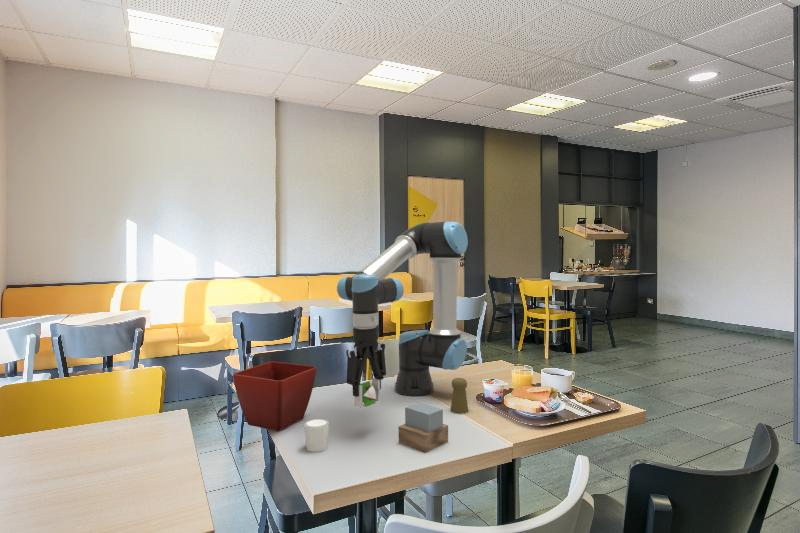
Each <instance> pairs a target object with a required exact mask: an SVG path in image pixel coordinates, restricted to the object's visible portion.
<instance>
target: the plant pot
mask: <svg viewBox="0 0 800 533" xmlns="http://www.w3.org/2000/svg"><path fill="white" fill-rule="evenodd" d="M316 374H317V366H313V365H305V364H296V363H289V362H281V361H268V362H265V363H262V364H258V365H256V366H251V367H248V368H245V369H243V370H240V371H235V372H234V373H232V378H233V384H234V387H235V388H234V389H235V393H236V397H237V400H238V403H239V406H240V408H241V412H242V414H243V416H244V420H245V421H246V423H247V425H248V426H251V427H257V428H260V429H261V428H262V429H265V430H266V429H267V430H271V431H277V432H279V431H283V430H284V429H286V428H288V427H290V426H292V425H293V424H296V423H298V422H300V421H301V420H303V419H304V417H305V414H306V412H307V409H308V406H309V402H310V399H311V396H312V392H313V389H314V384H315V380H316Z"/></svg>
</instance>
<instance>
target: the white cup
mask: <svg viewBox="0 0 800 533" xmlns="http://www.w3.org/2000/svg"><path fill="white" fill-rule="evenodd" d="M329 426H330V421H328V419H324V418H313V419H309V420H307V421H305V422H304V426H303V427H304V434H305V435H304V436H305V446H306V450H307V451H309V452H313V453H314V452H315V453H316V452H318V453H319V452H323V451H324V450H327V448H328V440H329Z"/></svg>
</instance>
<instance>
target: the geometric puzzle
mask: <svg viewBox="0 0 800 533" xmlns="http://www.w3.org/2000/svg"><path fill="white" fill-rule="evenodd" d="M360 385H362V401H363V407H364V408H366V407H368V406H372V405H374V404H376V402H377V401H375V399H376V400H377V398H376V391H375V389H374V387H375V385H374V387H373V385H372V381H370V380H369V381H366V382H365V381H364V382H362V383H360Z"/></svg>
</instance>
